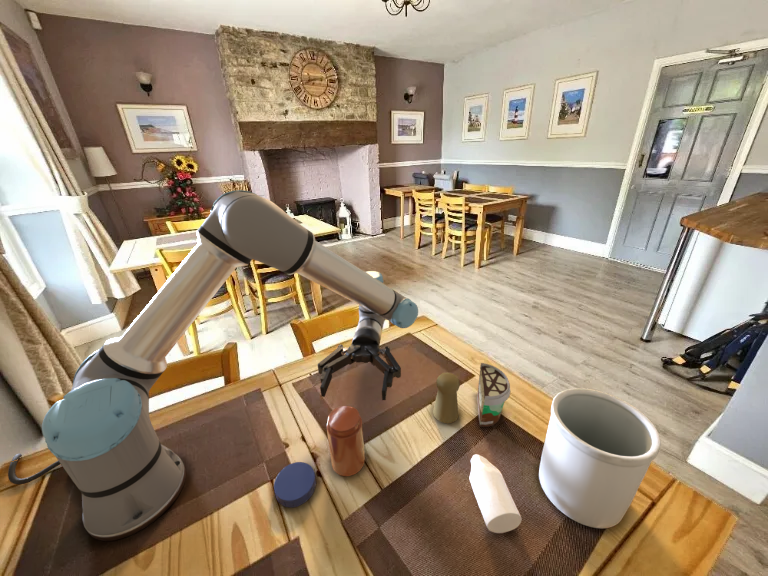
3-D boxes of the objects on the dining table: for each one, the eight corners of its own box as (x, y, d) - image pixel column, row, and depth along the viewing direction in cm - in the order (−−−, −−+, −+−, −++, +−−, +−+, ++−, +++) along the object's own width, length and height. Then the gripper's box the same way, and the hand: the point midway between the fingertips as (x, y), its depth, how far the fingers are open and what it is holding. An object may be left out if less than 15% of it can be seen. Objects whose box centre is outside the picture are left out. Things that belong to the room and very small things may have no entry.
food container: (509, 436, 68) (516, 401, 64) (480, 431, 69) (485, 398, 65) (501, 395, 79) (507, 364, 75) (476, 392, 80) (480, 361, 76)
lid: (323, 477, 61) (322, 471, 60) (298, 515, 55) (296, 508, 54) (294, 462, 64) (292, 456, 63) (267, 496, 58) (265, 489, 57)
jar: (328, 475, 61) (321, 431, 56) (336, 444, 67) (330, 403, 62) (362, 477, 61) (358, 433, 56) (367, 447, 67) (364, 404, 62)
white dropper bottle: (489, 464, 62) (492, 444, 60) (519, 530, 52) (525, 510, 49) (460, 467, 62) (462, 448, 60) (484, 535, 51) (488, 515, 49)
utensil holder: (518, 459, 63) (533, 393, 56) (582, 446, 66) (605, 381, 58) (570, 541, 50) (599, 469, 43) (648, 521, 52) (689, 450, 45)
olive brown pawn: (463, 418, 73) (467, 382, 68) (441, 426, 71) (443, 389, 66) (449, 400, 78) (452, 365, 73) (428, 408, 76) (430, 372, 72)
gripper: (411, 351, 87) (409, 409, 68) (325, 348, 90) (299, 403, 71) (411, 328, 84) (410, 383, 65) (322, 325, 87) (295, 377, 67)
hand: (352, 393), depth 68 cm, fingers open, 13 cm apart
